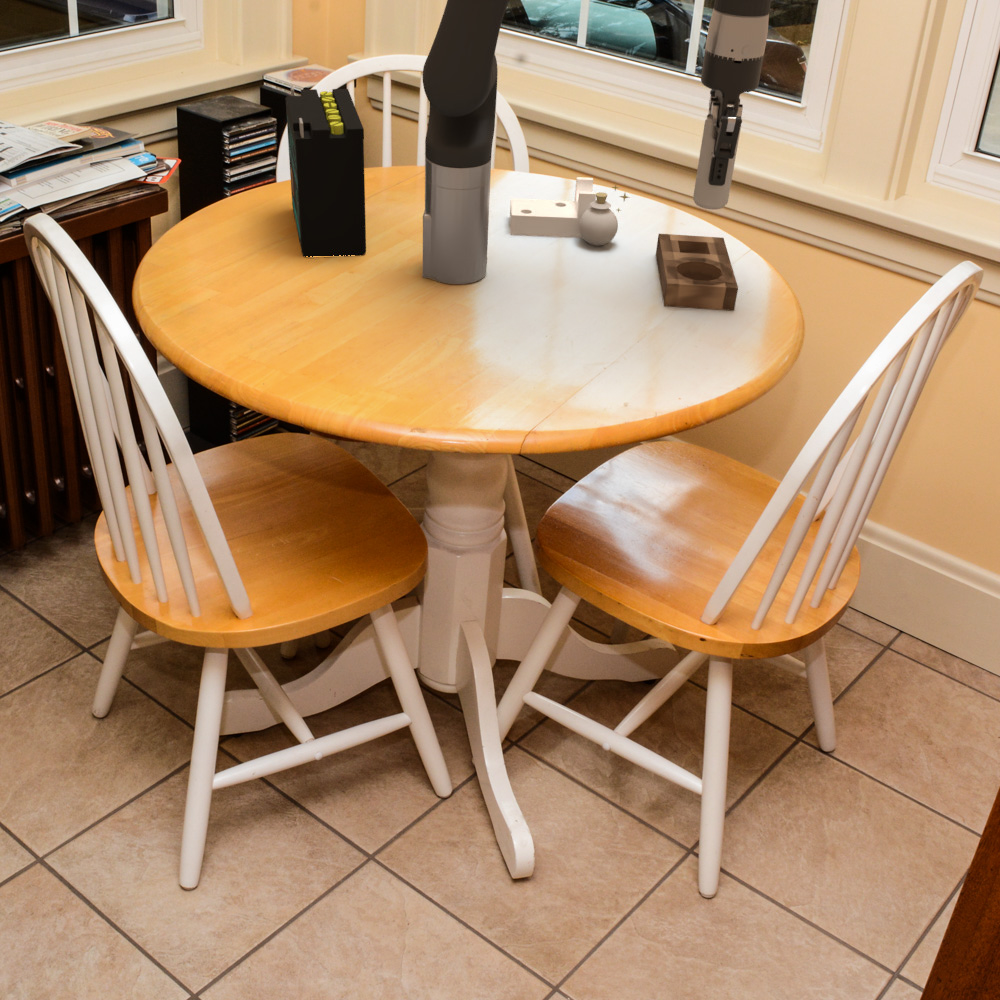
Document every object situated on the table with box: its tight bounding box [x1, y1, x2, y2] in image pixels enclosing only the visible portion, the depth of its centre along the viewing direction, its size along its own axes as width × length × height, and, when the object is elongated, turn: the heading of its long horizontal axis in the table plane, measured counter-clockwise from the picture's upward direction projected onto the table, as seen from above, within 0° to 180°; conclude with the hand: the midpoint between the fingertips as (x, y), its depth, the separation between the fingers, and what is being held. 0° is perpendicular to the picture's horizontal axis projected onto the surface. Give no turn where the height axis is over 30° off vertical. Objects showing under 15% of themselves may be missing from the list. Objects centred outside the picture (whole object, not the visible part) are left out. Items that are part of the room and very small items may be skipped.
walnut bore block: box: [655, 233, 739, 312], centre depth 166 cm, size 10×18×4 cm, turn 178°
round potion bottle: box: [579, 184, 631, 246], centre depth 174 cm, size 6×7×10 cm
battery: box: [285, 84, 367, 258], centre depth 170 cm, size 19×10×20 cm, turn 13°
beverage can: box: [692, 114, 742, 211], centre depth 153 cm, size 5×5×12 cm
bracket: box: [509, 176, 597, 239], centre depth 179 cm, size 13×7×8 cm, turn 91°
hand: (713, 177), depth 154 cm, fingers closed on beverage can, 4 cm apart
